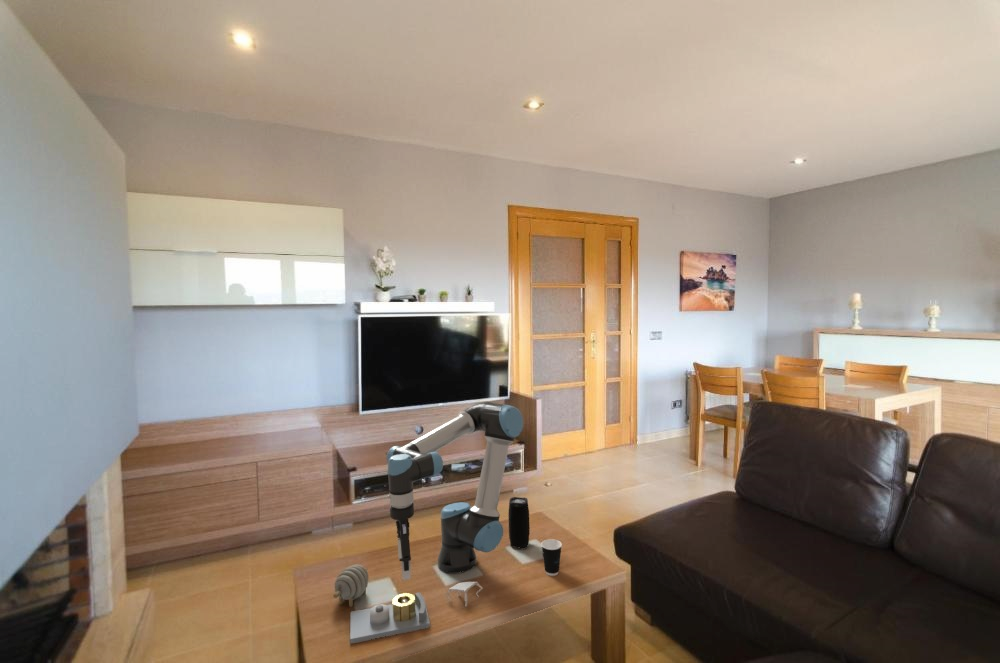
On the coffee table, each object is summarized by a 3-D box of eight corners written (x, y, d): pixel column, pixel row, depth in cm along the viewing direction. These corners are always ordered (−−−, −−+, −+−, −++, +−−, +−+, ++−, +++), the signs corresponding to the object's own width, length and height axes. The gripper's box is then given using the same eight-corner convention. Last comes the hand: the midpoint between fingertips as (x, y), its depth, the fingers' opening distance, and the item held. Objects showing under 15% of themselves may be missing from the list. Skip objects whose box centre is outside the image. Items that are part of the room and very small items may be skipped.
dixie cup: (562, 578, 180) (562, 549, 179) (541, 577, 181) (540, 548, 180) (562, 567, 188) (561, 539, 187) (541, 566, 189) (541, 538, 188)
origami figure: (458, 612, 161) (458, 597, 161) (445, 600, 168) (444, 586, 168) (487, 598, 169) (487, 584, 168) (473, 587, 175) (473, 574, 175)
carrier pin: (407, 611, 159) (407, 598, 159) (408, 615, 157) (408, 601, 157) (401, 613, 159) (401, 599, 159) (402, 616, 157) (401, 603, 157)
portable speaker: (531, 541, 209) (530, 496, 209) (526, 551, 200) (525, 505, 200) (512, 539, 212) (511, 494, 211) (506, 549, 203) (505, 503, 202)
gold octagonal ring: (413, 606, 162) (413, 591, 162) (416, 619, 156) (415, 603, 155) (392, 610, 160) (392, 595, 160) (394, 623, 154) (393, 607, 153)
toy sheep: (377, 588, 176) (376, 558, 176) (351, 616, 160) (350, 583, 159) (351, 584, 179) (350, 554, 178) (323, 612, 163) (322, 579, 162)
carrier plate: (424, 602, 167) (423, 587, 167) (429, 627, 153) (429, 611, 153) (350, 616, 160) (350, 600, 160) (350, 643, 147) (349, 626, 146)
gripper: (387, 491, 167) (390, 551, 169) (392, 521, 144) (395, 591, 145) (409, 488, 170) (412, 548, 171) (418, 517, 146) (421, 586, 147)
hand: (404, 568), depth 158 cm, fingers open, 13 cm apart
